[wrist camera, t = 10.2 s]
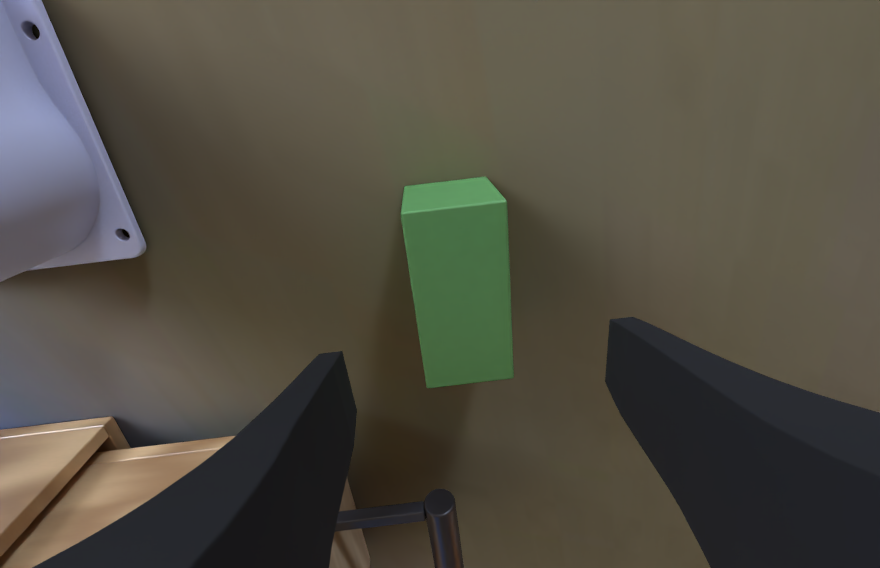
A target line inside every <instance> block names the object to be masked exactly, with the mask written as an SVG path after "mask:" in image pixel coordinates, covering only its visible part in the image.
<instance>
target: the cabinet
mask: <svg viewBox="0 0 880 568" xmlns="http://www.w3.org/2000/svg"><path fill="white" fill-rule="evenodd" d="M129 448H131V447H130V446H129V444H128V442H127V440H126V439H125V437H124V435H123V433H122V432H121V430H120V428H119V426H118V425H117V423H116V421H115V419H114V418H113V417H112V416H111V417H103V418H95V419H86V420H78V421H70V422H61V423H53V424H45V425H36V426H28V427H19V428H11V429H3V430H0V557H1V556H2V555H3V554H4V553H5V552H6V551H7V549H8V548H9V547H10V546H11V545H12V544H13V543H14V542H15V541H16V539H17V538H18V537H19V536H20V535H21V534H22V533H23V532H24V531H25V529H26V528H27V527H28V526H29V525H30V524H31V523H32V522H33V521H34V519H35V518H36V517H37V516H38V515H39V514H40V513H41V512H42V511H43V509H44V508H45V507H46V506H47V505H48V504H49V503H50V502H51V501H52V499H53V498H54V497H55V496H56V495H57V494H58V493H59V492H60V490H61V489H62V488H63V487H64V486H65V485H66V484H67V483H68V482H69V480H70V479H71V478H72V477H73V476H74V475H75V474H76V473H77V472H78V470H79V469H80V468H81V467H82V466H83V465H84V464H85V463H86V462H87V460H88V459H89V458H90V457H91V456H92V455H93V454H94V453H96V452H104V451H112V450H121V449H129Z"/></svg>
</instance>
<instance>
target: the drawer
mask: <svg viewBox="0 0 880 568" xmlns="http://www.w3.org/2000/svg"><path fill="white" fill-rule="evenodd" d="M234 437H235V436H229V437H220V438H212V439H204V440H195V441H187V442H179V443H170V444H162V445H154V446H146V447H137V448H129V449H121V450H112V451H104V452H96V453H94V454H93V455H92V456H91V457H90V458H89V459H88V460H87V462H86V463H85V464H84V465H83V466H82V467H81V468H80V469H79V470H78V472H77V473H76V474H75V475H74V476H73V477H72V478H71V479H70V480H69V482H68V483H67V484H66V485H65V486H64V487H63V488H62V489H61V490H60V492H59V493H58V494H57V495H56V496H55V497H54V498H53V499H52V501H51V502H50V503H49V504H48V505H47V506H46V507H45V508H44V509H43V511H42V512H41V513H40V514H39V515H38V516H37V517H36V518H35V519H34V521H33V522H32V523H31V524H30V525H29V526H28V527H27V528H26V529H25V531H24V532H23V533H22V534H21V535H20V536H19V537H18V538H17V539H16V541H15V542H14V543H13V544H12V545H11V546H10V547H9V548H8V549H7V551H6V552H5V553H4V554H3V555H2V556H1V557H0V568H32V567H34V566H36V565H38V564H40V563H42V562H43V561H45V560H47V559H49V558H51V557H53V556H55V555H56V554H58V553H60V552H62V551H64V550H66V549H68V548H69V547H71V546H73V545H75V544H77V543H79V542H80V541H82V540H84V539H86V538H87V537H89V536H91V535H93V534H94V533H96V532H98V531H99V530H101V529H103V528H104V527H106V526H108V525H109V524H111V523H113V522H114V521H116V520H118V519H119V518H121V517H123V516H124V515H126V514H128V513H129V512H131V511H132V510H134V509H136V508H137V507H139V506H140V505H142V504H143V503H145V502H147V501H148V500H150V499H151V498H153V497H154V496H156V495H157V494H159V493H160V492H161V491H163V490H164V489H166V488H167V487H169V486H170V485H172V484H173V483H174V482H176V481H177V480H179V479H180V478H182V477H183V476H184V475H186V474H187V473H189V472H190V471H192V470H193V469H194V468H196V467H197V466H199V465H200V464H201V463H203V462H204V461H205V460H206V459H208V458H209V457H210V456H212V455H213V454H214V453H215V452H217V451H218V450H219V449H220V448H222V447H223V446H224V445H225V444H227V443H228V442H229V441H230V440H231V439H233V438H234ZM425 519H426V520H427V526H428V532H429V537H430V543H431V548H432V554H433V559H434V565H435V568H464V564H463V557H462V549H461V542H460V534H459V527H458V519H457V512H456V504H455V498H454V496H453V495H452V493H451V492H449V491H448V490H446V489H435V490H433V491H431V492H430V493H429V494H428V495H427V496H426V498H425V501H424V502H423V501H421V502H413V503H404V504H396V505H388V506H380V507H371V508H363V509H356V507H355V504H354V500H353V497H352V493H351V490H350V486H349V483H348V479H346V483H345V487H344V492H343V496H342V501H341V505H340V510H339V514H338V518H337V523H336V527H335V532H334V538H333V543H332V549H331V557H330V565H329V568H369V567H370V556H369V553H368V549H367V546H366V542H365V539H364V535H363V532H362V528H370V527H378V526H387V525H395V524H403V523H412V522H420V521H425Z"/></svg>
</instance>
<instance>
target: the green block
mask: <svg viewBox="0 0 880 568" xmlns="http://www.w3.org/2000/svg"><path fill="white" fill-rule="evenodd" d="M401 221H402V227H403V234H404V240H405V247H406V254H407V260H408V267H409V274H410V280H411V287H412V294H413V300H414V307H415V314H416V320H417V327H418V334H419V340H420V347H421V354H422V360H423V367H424V374H425V380H426V386H427V388H437V387H445V386H453V385H462V384H470V383H478V382H487V381H495V380H503V379H511V378H513V377H514V369H513V343H512V317H511V291H510V264H509V238H508V212H507V201H506V199H505V198H504V197H503V196H502V195H501V193H500V192H499V191H498V190H497V189H496V188H495V186H494V185H493V184H492V183H491V182H490V181H489V180H488V178H487V177H478V178H470V179H461V180H453V181H444V182H436V183H428V184H419V185H411V186H405V187H404V192H403V200H402V208H401Z"/></svg>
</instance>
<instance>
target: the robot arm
mask: <svg viewBox="0 0 880 568" xmlns="http://www.w3.org/2000/svg"><path fill="white" fill-rule="evenodd" d="M34 24H35V25H36V26H37V28H38V29H39V33H40V36H39V38H38V39H37V38H36V37H35V36H34V34H33V32H32V26H33V25H34ZM122 229H125V230H126V231H127V232H128V233H129V234H130V238H128V237H126V236H125V235H124V234H123V233H122ZM145 251H146V242H145V240H144V238H143V235H142V233H141V231H140V228H139V226H138V224H137V221H136V219H135V217H134V214H133V212H132V210H131V207H130V205H129V203H128V200H127V198H126V196H125V193H124V191H123V189H122V186H121V184H120V182H119V180H118V177H117V175H116V173H115V170H114V168H113V166H112V163H111V161H110V159H109V156H108V154H107V152H106V149H105V147H104V145H103V142H102V140H101V138H100V135H99V133H98V131H97V128H96V126H95V124H94V121H93V119H92V117H91V114H90V112H89V110H88V107H87V105H86V103H85V100H84V98H83V96H82V93H81V91H80V89H79V86H78V84H77V82H76V79H75V77H74V75H73V72H72V70H71V68H70V65H69V63H68V61H67V58H66V56H65V54H64V52H63V49H62V47H61V45H60V42H59V40H58V38H57V35H56V33H55V31H54V28H53V26H52V24H51V21H50V19H49V17H48V14H47V12H46V10H45V7H44V5H43V3H42V0H0V282H2V281H4V280H6V279H8V278H11V277H13V276H15V275H17V274H19V273H22V272H24V271H27V270H36V269H44V268H53V267H61V266H70V265H78V264H86V263H95V262H103V261H112V260H120V259H128V258H135V257H138V256H140V255H142V254H143V253H144V252H145ZM605 382H606V384H607V387H608V389H609V391H610V393H611V395H612V398H613V400H614V402H615V404H616V406H617V408H618V410H619V412H620V414H621V416H622V417H623V419H624V421H625V422H626V424H627V425H628V427H629V428H630V430H631V432H632V433H633V435H634V436H635V438H636V439H637V441H638V442H639V444H640V446H641V447H642V449H643V450H644V452H645V453H646V455H647V456H648V458H649V459H650V461H651V462H652V464H653V465H654V467H655V468H656V470H657V472H658V473H659V475H660V476H661V478H662V479H663V481H664V482H665V484H666V485H667V487H668V488H669V490H670V492H671V493H672V495H673V497H674V498H675V500H676V502H677V503H678V505H679V507H680V509H681V510H682V512H683V514H684V516H685V518H686V520H687V522H688V524H689V526H690V528H691V530H692V531H693V533H694V535H695V537H696V539H697V541H698V543H699V545H700V547H701V549H702V551H703V553H704V555H705V557H706V559H707V561H708V563H709V565H710V567H711V568H880V413H879V412H875V411H872V410H868V409H865V408H861V407H858V406H854V405H851V404H847V403H844V402H841V401H837V400H834V399H831V398H828V397H824V396H821V395H818V394H815V393H812V392H809V391H806V390H803V389H800V388H798V387H795V386H792V385H789V384H786V383H783V382H781V381H778V380H775V379H772V378H770V377H767V376H765V375H762V374H759V373H757V372H754V371H752V370H750V369H747V368H745V367H742V366H740V365H738V364H735V363H733V362H730V361H728V360H726V359H724V358H721V357H719V356H717V355H715V354H712V353H710V352H708V351H706V350H704V349H702V348H699V347H697V346H695V345H693V344H691V343H689V342H687V341H685V340H683V339H680V338H678V337H676V336H674V335H672V334H670V333H668V332H666V331H664V330H662V329H660V328H657V327H655V326H653V325H651V324H649V323H647V322H644V321H642V320H640V319H637V318H634V317H628V318H619V319H611V320H610V325H609V338H608V351H607V364H606V377H605ZM356 415H357V409H356V405H355V401H354V397H353V393H352V389H351V385H350V381H349V377H348V373H347V369H346V365H345V361H344V357H343V353H342V351H340V352H331V353H323V354H319V355H318V356H317V357H316V358H315V359H314V360H313V361H312V362H311V363H310V364H309V365H308V366H307V367H306V368H305V369H304V370H303V371H302V372H301V373H300V374H299V375H298V376H297V377H296V378H295V380H294V381H293V382H292V383H291V384H290V385H289V386H288V387H287V388H286V389H285V390H284V391H283V392H282V393H281V394H280V395H279V396H278V397H277V398H276V399H275V400H274V401H273V402H272V403H271V404H270V405H269V406H268V407H267V408H266V409H264V410H263V411H262V412H261V413H260V414H259V415H258V416H257V417H256V418H255V419H254V420H253V421H252V422H251V423H249V424H248V425H247V426H246V427H245V428H244V429H243V430H242V431H241V432H240V433H238V434H237V435H236V436H235V437H234V438H233V439H231V440H230V441H229V442H228V443H227V444H225V445H224V446H223V447H222V448H220V449H219V450H218V451H217V452H215V453H214V454H213V455H212V456H210V457H209V458H208V459H206V460H205V461H204V462H203V463H201V464H200V465H199V466H197V467H196V468H194V469H193V470H192V471H190V472H189V473H187V474H186V475H184V476H183V477H182V478H180V479H179V480H177V481H176V482H174V483H173V484H172V485H170V486H169V487H167V488H166V489H164V490H163V491H161V492H160V493H159V494H157V495H156V496H154V497H153V498H151V499H150V500H148V501H147V502H145V503H143V504H142V505H140V506H139V507H137V508H136V509H134V510H132V511H131V512H129V513H128V514H126V515H124V516H123V517H121V518H119V519H118V520H116V521H114V522H113V523H111V524H109V525H108V526H106V527H104V528H103V529H101V530H99V531H98V532H96V533H94V534H93V535H91V536H89V537H87V538H86V539H84V540H82V541H80V542H79V543H77V544H75V545H73V546H71V547H69V548H68V549H66V550H64V551H62V552H60V553H58V554H56V555H55V556H53V557H51V558H49V559H47V560H45V561H43V562H42V563H40V564H38V565H36V566H34V567H32V568H329V565H330V557H331V549H332V543H333V538H334V532H335V527H336V523H337V518H338V514H339V510H340V505H341V501H342V496H343V492H344V487H345V483H346V479H347V474H348V470H349V465H350V461H351V456H352V451H353V446H354V438H355V427H356Z"/></svg>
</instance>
